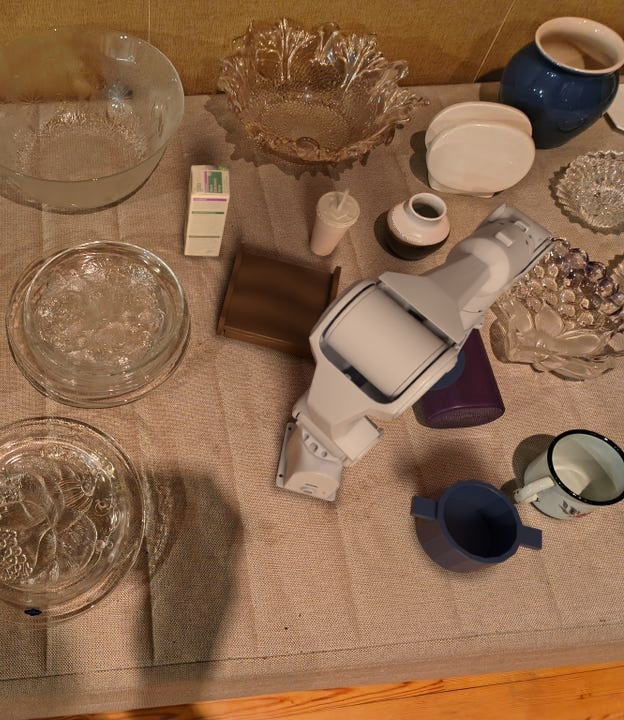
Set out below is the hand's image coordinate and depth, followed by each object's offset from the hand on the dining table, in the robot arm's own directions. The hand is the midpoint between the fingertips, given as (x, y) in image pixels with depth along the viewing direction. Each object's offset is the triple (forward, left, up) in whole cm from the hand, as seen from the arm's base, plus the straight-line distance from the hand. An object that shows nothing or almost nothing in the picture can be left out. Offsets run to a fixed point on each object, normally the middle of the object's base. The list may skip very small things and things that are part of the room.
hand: (420, 347), depth 87 cm
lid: (0, 0, -1) cm, 1 cm away
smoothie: (+21, +14, -11) cm, 27 cm away
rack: (+7, +19, -10) cm, 23 cm away
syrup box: (+16, +33, -11) cm, 38 cm away
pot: (-20, -10, -10) cm, 25 cm away
